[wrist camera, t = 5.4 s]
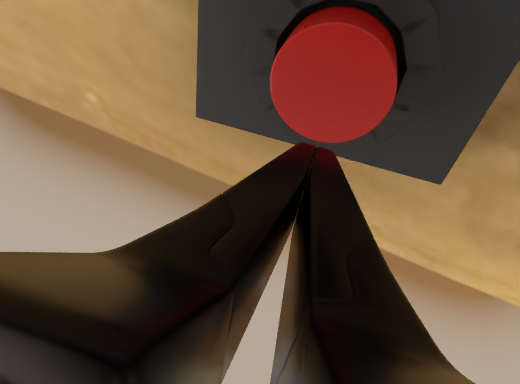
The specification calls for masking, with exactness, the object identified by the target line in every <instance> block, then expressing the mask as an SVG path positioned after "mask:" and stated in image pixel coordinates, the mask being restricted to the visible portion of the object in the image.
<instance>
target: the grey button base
mask: <svg viewBox="0 0 520 384" xmlns="http://www.w3.org/2000/svg"><path fill="white" fill-rule="evenodd" d="M334 6H349V7H355V8H358V9H362V10H364V11H366V12H368V13H370V14H372V15H373V16H375V17H376V18H377V19H378V20H379V21H381V22H382V23H383V25H384V26H385V27H386V28H387V30H388V31H389V33H390V35H391V36H392V39H393V41H394V44H395V48H396V53H397V91H396V96H395V99H394V102H393V105H392V107H391V109H390V111H389V112H388V114H387V115H386V117H385V118H384V119H383V120H382V121H381V123H380V124H379V125H378V126H376V127H375V128H374V129H373V130H371V131H370V132H368V133H367V134H365V135H363V136H361V137H359V138H356V139H354V140H350V141H346V142H339V143H327V142H320V141H315V140H312V139H309V138H307V137H305V136H303V135H301V134H299V133H298V132H296V131H295V130H293V129H292V128H291V127H290V126H289V125H288V124H287V123H286V122H285V121H284V120H283V119H282V118H281V116H280V115H279V113H278V111H277V110H276V108H275V105H274V103H273V100H272V97H271V91H270V73H271V68H272V65H273V62H274V59H275V57H276V55H277V53H278V52H279V50H280V49H281V47H282V46H283V44H284V43H285V41H286V40H287V39H288V37H289V36H290V34H291V33H292V32H293V30H294V29H295V27H296V26H297V25H298V24H299V23H300V22H301V21H302V20H304V19H305V18H306V17H308V16H309V15H311V14H313V13H314V12H316V11H319V10H321V9H324V8H328V7H334ZM519 59H520V0H199V8H198V51H197V94H196V117H198V118H202V119H205V120H209V121H212V122H216V123H220V124H223V125H227V126H230V127H234V128H238V129H241V130H245V131H249V132H252V133H256V134H259V135H263V136H267V137H270V138H274V139H277V140H281V141H285V142H288V143H292V144H295V145H296V144H298V143H300V142H305V143H309V144H312V145H315V146H316V148H317V147H323V148H327V149H330V150H333V151H334V153H335V155H336V156H339V157H342V158H346V159H349V160H353V161H357V162H360V163H364V164H368V165H371V166H375V167H378V168H382V169H386V170H389V171H393V172H396V173H400V174H404V175H407V176H411V177H414V178H418V179H422V180H425V181H429V182H432V183H436V184H442V182H443V181H444V179H445V177H446V176H447V174H448V173H449V171H450V169H451V168H452V166H453V165H454V163H455V161H456V160H457V158H458V157H459V155H460V153H461V152H462V150H463V149H464V147H465V145H466V144H467V142H468V141H469V139H470V137H471V136H472V134H473V133H474V131H475V129H476V128H477V126H478V125H479V123H480V121H481V120H482V118H483V117H484V115H485V114H486V112H487V110H488V109H489V107H490V106H491V104H492V102H493V101H494V99H495V98H496V96H497V94H498V93H499V91H500V90H501V88H502V86H503V85H504V83H505V82H506V80H507V78H508V77H509V75H510V74H511V72H512V70H513V69H514V67H515V66H516V64H517V62H518V61H519Z"/></svg>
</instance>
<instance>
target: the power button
mask: <svg viewBox="0 0 520 384" xmlns="http://www.w3.org/2000/svg"><path fill="white" fill-rule="evenodd" d="M270 91H271V97H272V100H273V103H274V105H275V108H276V110H277V111H278V113H279V115H280V116H281V118H282V119H283V120H284V121H285V122H286V123H287V124H288V125H289V126H290V127H291V128H292V129H293V130H295V131H296V132H298V133H299V134H301V135H303V136H305V137H307V138H309V139H312V140H315V141H320V142H327V143H339V142H346V141H350V140H354V139H356V138H359V137H361V136H363V135H365V134H367V133H368V132H370V131H371V130H373V129H374V128H375V127H376V126H378V125H379V124H380V123H381V121H382V120H383V119H384V118H385V117H386V115H387V114H388V112H389V111H390V109H391V107H392V105H393V102H394V99H395V96H396V91H397V53H396V48H395V44H394V41H393V39H392V36H391V35H390V33H389V31H388V30H387V28H386V27H385V26H384V25H383V23H382V22H381V21H379V20H378V19H377V18H376V17H375V16H373V15H372V14H370V13H368V12H366V11H364V10H362V9H358V8H355V7H349V6H334V7H328V8H324V9H321V10H319V11H316V12H314V13H313V14H311V15H309V16H308V17H306V18H305V19H304V20H302V21H301V22H300V23H299V24H298V25H297V26H296V27H295V29H294V30H293V32H292V33H291V34H290V36H289V37H288V39H287V40H286V41H285V43H284V44H283V46H282V47H281V49H280V50H279V52H278V53H277V55H276V57H275V59H274V62H273V65H272V68H271V73H270Z"/></svg>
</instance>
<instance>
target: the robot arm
mask: <svg viewBox="0 0 520 384" xmlns="http://www.w3.org/2000/svg"><path fill="white" fill-rule="evenodd" d="M314 154H315V155H314ZM313 157H314V158H313ZM311 164H312V165H311ZM310 167H311V168H310ZM309 171H310V172H309ZM308 174H309V175H308ZM306 181H307V182H306ZM305 184H306V185H305ZM304 188H305V189H304ZM303 191H304V192H303ZM301 198H302V199H301ZM300 201H301V202H300ZM298 208H299V209H298ZM297 211H298V212H297ZM296 215H297V216H296ZM295 218H296V219H295ZM294 221H295V223H294ZM293 224H294V227H293ZM292 227H293V232H292V239H291V246H290V252H289V259H288V266H287V273H286V279H285V286H284V293H283V300H282V307H281V314H280V321H279V327H278V334H277V341H276V347H275V354H274V361H273V368H272V375H271V382H270V384H475V383H473V382H472V381H470V380H469V379H467V378H466V377H465V376H464V375H462V374H461V373H460V372H459V371H458V370H456V369H455V368H454V367H453V366H452V365H451V363H450V362H449V361H448V360H447V359H446V358H445V356H444V355H443V354H442V353H441V351H440V350H439V348H438V347H437V346H436V344H435V343H434V341H433V339H432V338H431V336H430V335H429V333H428V331H427V330H426V328H425V327H424V325H423V323H422V322H421V320H420V319H419V317H418V316H417V314H416V312H415V311H414V309H413V308H412V306H411V304H410V303H409V301H408V299H407V298H406V296H405V295H404V293H403V291H402V290H401V288H400V286H399V285H398V283H397V281H396V279H395V278H394V276H393V274H392V273H391V271H390V269H389V267H388V265H387V263H386V261H385V259H384V257H383V255H382V254H381V252H380V249H379V247H378V245H377V243H376V241H375V240H374V237H373V235H372V233H371V230H370V228H369V226H368V224H367V222H366V220H365V218H364V215H363V213H362V211H361V209H360V207H359V205H358V203H357V200H356V198H355V196H354V194H353V192H352V190H351V188H350V185H349V183H348V181H347V179H346V177H345V175H344V173H343V170H342V168H341V166H340V164H339V162H338V160H337V158H336V155H335V153H334V151H333V150H330V149H327V148H323V147H317V148H316V146H315V145H312V144H309V143H305V142H300V143H298V144H296V145H295V146H293V147H292V148H290V149H289V150H287V151H286V152H284V153H283V154H281V155H280V156H278V157H277V158H275V159H274V160H272V161H271V162H269V163H268V164H266V165H264V166H263V167H261V168H260V169H258V170H257V171H255V172H254V173H252V174H251V175H249V176H248V177H246V178H245V179H243V180H242V181H240V182H239V183H237V184H236V185H234V186H232V187H231V188H230V189H228V190H226V191H225V192H223V194H220V195H219V196H217V197H215V198H214V199H212V200H211V201H209V202H208V203H206V204H204V205H203V206H201V207H199V208H198V209H196V210H194V211H192V212H190V213H189V214H187V215H185V216H183V217H181V218H179V219H177V220H175V221H173V222H171V223H169V224H167V225H165V226H163V227H161V228H159V229H157V230H155V231H153V232H151V233H149V234H147V235H145V236H143V237H140V238H138V239H137V240H134V241H132V242H130V243H128V244H126V245H124V246H121V247H119V248H116V249H113V250H109V251H105V252H98V253H47V252H44V253H43V252H40V253H39V252H37V253H36V252H0V384H221V383H222V381H223V379H224V376H225V374H226V372H227V370H228V368H229V366H230V363H231V361H232V359H233V357H234V355H235V352H236V350H237V348H238V346H239V344H240V341H241V339H242V337H243V335H244V333H245V331H246V328H247V326H248V324H249V322H250V320H251V317H252V315H253V313H254V311H255V309H256V306H257V304H258V302H259V300H260V298H261V296H262V293H263V291H264V289H265V287H266V285H267V282H268V280H269V278H270V276H271V274H272V271H273V269H274V267H275V265H276V263H277V260H278V258H279V256H280V254H281V252H282V250H283V247H284V245H285V243H286V241H287V239H288V236H289V234H290V232H291V229H292Z"/></svg>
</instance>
